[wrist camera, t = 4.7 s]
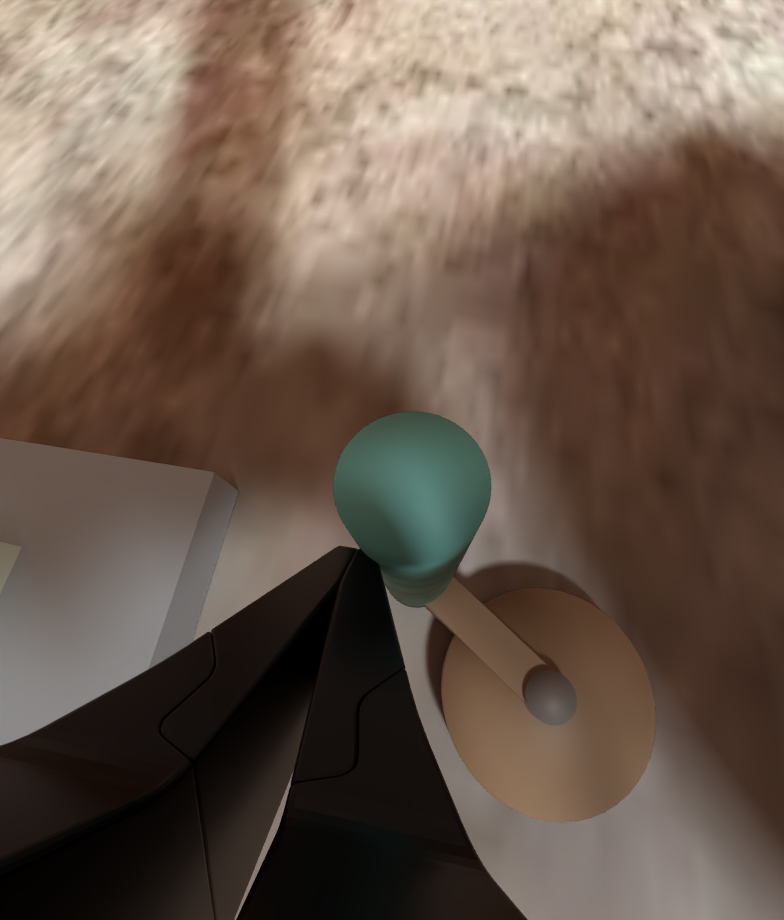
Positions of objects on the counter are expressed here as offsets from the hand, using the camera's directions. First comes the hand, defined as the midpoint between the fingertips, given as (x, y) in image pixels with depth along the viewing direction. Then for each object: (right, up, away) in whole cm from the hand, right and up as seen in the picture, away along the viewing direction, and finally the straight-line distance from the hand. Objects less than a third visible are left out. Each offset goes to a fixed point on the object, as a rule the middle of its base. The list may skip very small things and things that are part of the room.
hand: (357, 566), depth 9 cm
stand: (-12, -5, +9) cm, 16 cm away
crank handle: (+5, -5, +8) cm, 10 cm away
